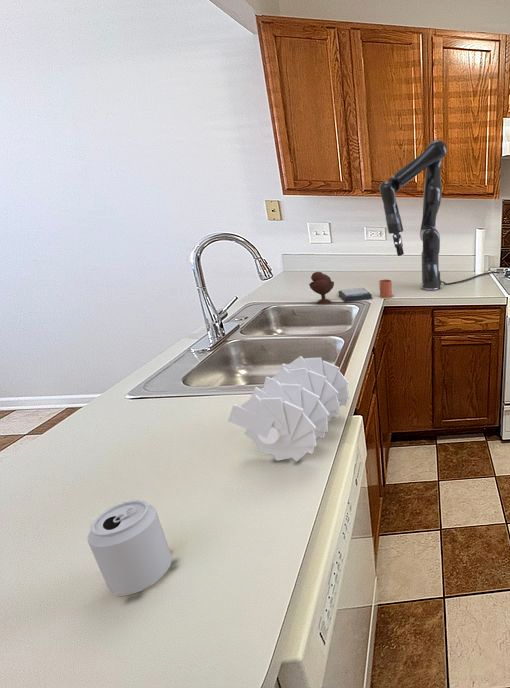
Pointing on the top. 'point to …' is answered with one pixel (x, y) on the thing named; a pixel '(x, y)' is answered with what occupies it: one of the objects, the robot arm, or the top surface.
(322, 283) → the ice cream bowl
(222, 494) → the top surface
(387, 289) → the cup
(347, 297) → the scale
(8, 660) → the top surface
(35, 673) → the top surface
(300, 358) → the spiral staircase
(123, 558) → the can
